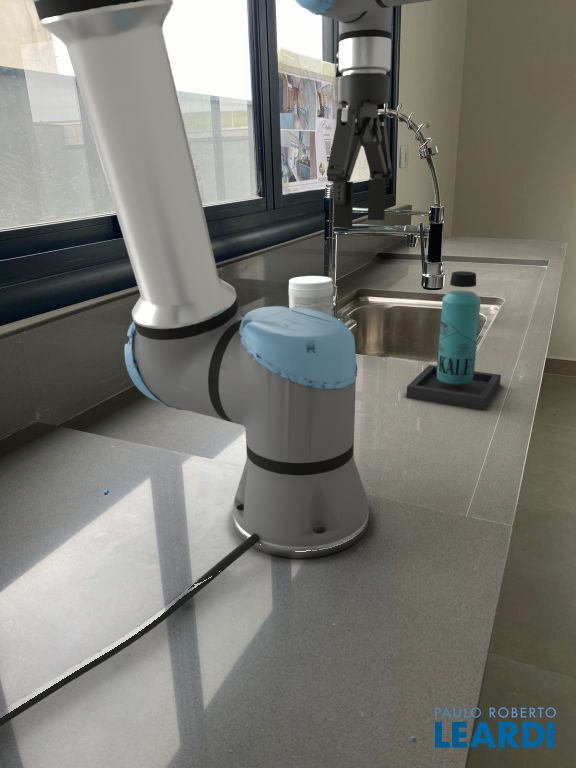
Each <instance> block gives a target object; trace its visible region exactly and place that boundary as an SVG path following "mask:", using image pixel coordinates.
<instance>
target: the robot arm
mask: <svg viewBox="0 0 576 768" xmlns="http://www.w3.org/2000/svg"><path fill="white" fill-rule="evenodd" d="M430 1H432V0H294V2H295V3H296V4H297V5H298V6H299V7H301V8H303V9H306V10H308V12H310V13H311V14H314V15H315V16H322V17H325V18H328V19H331V20H334V21H337V22H338V38H339V39H338V42H339V43H338V52H337V53H336V58H337V59H338V72H339V73H340V74H341V76H339V79H338V89H337V90H338V91H337V97H338V98H337V101H338V104H339V105H342V106H347V107H339V108H337V110H336V125H335V128H334V129H335V130H334V134H333V139H332V144H331V149H330V153H329V158H328V163H327V168H326V178H327V179H326V180H327V181H328V182H333V228H335V229H337V228H339V229H341V228H342V229H352V228H353V221H354V219H353V217H354V214H353V213H354V181H351V178H352V176H353V173H354V169H355V166H356V163H357V160H358V158H359V154H360V151H361V148H362V147H363V151H364V154H365V158H366V161H367V162H366V163H367V165H368V170H369V173H370V176H371V178H368V196H367V197H368V198H367V220H368V221H385V214H386V188H387V187H386V186H387V179H392V177H393V172H392V171H393V170H392V161H391V155H390V147H389V146H390V145H389V138H388V130H387V129H388V128H387V117H388V116H387V113H386V112H379V106H380V105H385V104H387V103H388V102H389V100H390V86H391V85H390V83H391V82H390V81H391V78H390V77H389V75H388V74H387V73H388V72H390V71H391V67H392V17H393V7H398V6H404V5H410V4H417V3H424V2H430ZM32 2H33V5H34V7H35V10H36V13H37V17H38V19H39V23H40V26H41V27H43V28H44V29H45V30H47V31H48V32H49V33H50V34H52V35H53V36H55V37H56V38H57V39H59V40H60V41H61V42H62V43H63V44H64V45H65V47H66V50H67V54H68V56H69V60H70V63H71V66H72V71H73V73H74V76H75V80H76V83H77V86H78V91H79V93H80V96H81V101H82V103H83V107H84V110H85V114H86V117H87V120H88V123H89V126H90V130H91V133H92V137H93V140H94V144H95V147H96V151H97V153H98V157H99V161H100V163H101V167H102V170H103V174H104V177H105V180H106V183H107V187H108V191H109V194H110V197H111V200H112V204H113V207H114V210H115V214H116V217H117V221H118V224H119V227H120V231H121V233H122V238H123V241H124V244H125V247H126V250H127V254H128V257H129V261H130V265H131V267H132V268H131V269H132V271H133V274H134V278H135V281H136V285H137V287H138V291H139V294H140V297H139V298H138V300H137V302H136V303H135V304H134V305H133V308H132V309H131V316H132V317H131V318H132V322H131V324H130V325H129V328H128V330H127V334H126V336H127V338H129V339H128V342H127V343H125V344H124V350H123V351H124V362H125V367H126V370H127V374H128V375H129V377H130V379H131V380H132V383H133V384H134V385H135V387H136V388H137V389H138V391H140V392H141V393H142V394H143V395H144V396H145V397H147V398H149V399H150V400H153V401H155V402H158V403H161V404H162V405H164V406H166V407H167V408H172V409H176V410H179V411H180V410H181V411H188V412H192V413H196V414H199V415H203V416H206V417H207V416H208V417H211V418H215V419H219V420H221V421H225V422H229V423H232V424H236V425H239V426H243V427H244V428H245V429H244V430H245V445H246V447H245V448H246V449H245V450H246V460H245V463H244V467H243V470H242V472H241V476H240V480H239V483H238V486H237V489H236V492H235V494H234V495H235V496H234V498H233V504H232V505H233V507H232V520H233V521H232V522H233V526H234V530H235V532H236V533H237V536H239V538H240V539H241V540H242V541H243V542H241V543H240V544H238V545H237V546H236V547H235V548H234V549H233V550H232V551H230V552H229V553H228V554H227V555H225V556H224V557H223V558H222V559H221V560H219V561H218V562H217V563H216V564H215V565H213V566H212V567H211V568H210V569H209V570H208V571H206V572H205V573H204V574H203V575H202V576H200V577H199V578H198V579H196V581H197V582H196V581H194V582H195V583H194V582H193V583H194V584H197V583H200V582H203V581H204V580H206V579H207V580H206V581H204V582H203V583H201V584H200V585H198V586H197V587H196V588H194V589H193V590H192V591H190V592H189V593H187V594H186V595H184V596H183V597H182V598H181V599H179V600H178V601H177V602H176V603H175V604H174V605H172V606H171V607H170V608H169V609H168V610H167V611H166V612H164V613H163V614H162V615H161V616H160V617H158V618H157V619H156V620H154V621H153V622H152V623H151V624H149V625H148V626H146V627H145V628H144V629H142V630H141V631H139V632H138V633H137V634H135V635H134V636H132V637H131V638H129V639H128V640H126V641H125V642H123V643H121V644H120V645H118V646H117V647H115V648H114V649H112V650H110V651H109V652H107V653H105V654H104V655H102V656H100V657H99V658H97V659H95V660H94V661H92V662H90V663H89V664H87V665H85V666H84V667H82V668H80V669H79V670H77V671H75V672H74V673H72V674H71V675H69V676H67V677H66V678H64V679H62V680H61V681H59V682H58V683H56V684H54V685H53V686H51V687H50V688H48V689H46V690H45V691H43V692H42V693H40V694H38V695H37V696H35V697H34V698H32V699H30V700H29V701H27V702H26V703H24V704H22V705H21V706H19V707H18V708H16V709H14V710H13V711H11V712H10V713H8V714H6V715H5V716H3V717H2V718H0V727H2V726H4V725H5V724H7V723H8V722H9V721H11V720H12V719H15V718H16V717H18V716H19V715H21V714H22V713H24V712H25V711H27V710H28V709H30V708H32V707H33V706H35V705H37V704H38V703H39V702H41V701H43V700H45V699H46V698H47V697H49V696H51V695H52V694H53V693H56V692H57V691H59V690H60V689H62V688H63V687H65V686H67V685H69V683H71V682H73V681H75V680H77V679H78V678H79V677H82V676H83V675H85V674H86V673H87V672H89V671H91V670H92V669H94V668H96V667H98V666H99V665H102V663H104V662H106V661H108V660H109V659H110V658H112V657H114V656H115V655H118V653H120V652H121V651H123V650H125V649H127V647H129V646H131V645H132V644H134V643H135V642H136V641H138V640H139V639H141V638H143V637H144V636H145V635H147V634H148V633H149V632H150V631H152V630H153V629H155V628H156V627H157V626H159V625H160V624H161V623H162V622H164V621H166V620H167V619H168V618H169V617H170V616H171V615H173V614H174V613H175V612H176V611H178V610H179V609H180V608H181V607H182V606H184V605H185V604H186V603H187V602H188V601H189V600H191V599H192V598H193V597H194V596H196V594H198V593H199V592H200V591H201V590H203V589H204V588H205V587H206V586H207V585H209V584H210V583H211V582H212V581H213V580H214V579H216V578H217V577H218V576H220V574H222V573H223V572H224V571H225V570H227V568H229V566H231V565H232V564H233V563H234V562H236V561H237V560H238V559H239V558H240V557H242V556H243V555H244V554H245V553H247V551H249V550H250V549H251V548H254V549H256V550H258V551H261V552H263V553H265V554H269V555H273V556H278V557H284V558H290V559H291V558H293V559H296V558H297V559H309V558H319V557H324V556H328V555H332V554H335V553H338V552H340V551H343V550H346V549H348V548H349V547H351V546H352V545H354V544H355V543H357V542H358V541H359V540H360V539H361V538H362V537H363V536H364V534H365V533H366V531H367V529H368V527H369V526H368V525H369V520H370V519H369V517H370V516H369V515H370V514H369V513H370V508H369V501H368V497H367V494H366V491H365V488H364V485H363V482H362V479H361V476H360V472H359V470H358V467H357V463H356V461H355V458H354V457H355V455H354V454H355V453H354V452H355V451H354V447H355V424H356V423H355V419H356V391H357V390H356V388H357V385H356V384H357V377H358V372H359V371H358V364H357V354H356V353H357V351H356V340H355V336H354V334H353V332H352V331H351V330H350V328H349V327H348V326H347V324H346V323H344V322H343V321H342V320H341V319H339V318H337V317H335V316H334V315H333V316H331V315H328V314H325V313H322V312H319V311H315V310H311V309H306V308H300V307H293V308H289V307H287V306H281V305H273V306H272V305H271V306H263V307H259V308H255V309H251V310H250V311H248V312H247V313H246V314H245V315H243V316H242V314H241V309H240V305H239V299H238V296H237V292H236V289H235V287H234V286H233V285H231V284H230V283H229V282H227V281H225V280H223V279H221V278H220V277H219V273H218V268H217V264H216V259H215V255H214V251H213V246H212V242H211V237H210V233H209V229H208V223H207V219H206V215H205V210H204V205H203V200H202V197H201V193H200V187H199V184H198V178H197V174H196V170H195V166H194V161H193V157H192V156H193V155H192V152H191V151H192V150H191V148H190V142H189V138H188V135H187V134H188V133H187V129H186V125H185V120H184V116H183V112H182V107H181V103H180V97H179V93H178V89H177V85H176V79H175V75H174V71H173V66H172V62H171V58H170V57H171V56H170V53H169V48H168V44H167V40H166V39H167V38H166V35H165V31H164V30H165V29H164V28H165V25H166V21H167V19H168V18H169V16H170V14H171V12H172V10H173V8H174V6H175V4H176V0H32ZM234 522H235V523H234ZM366 523H367V524H366ZM235 524H236V525H235ZM365 525H366V526H365ZM236 526H237V527H236ZM364 526H365V527H364ZM363 528H364V529H363ZM362 529H363V530H362ZM239 530H240V531H241V532H242V533H243V534H244V535H243V534H242V533H241V532H240V531H239ZM361 530H362V531H361ZM360 531H361V532H360ZM359 532H360V533H359ZM358 533H359V534H358ZM357 534H358V535H357ZM355 535H357V536H355ZM353 536H355V537H354V538H353V539H351V540H349V541H347V542H345V543H343V541H346V540H348V539H350V538H352V537H353ZM247 537H248V538H247ZM340 543H343V544H341V545H338V546H335V547H332V546H334V545H337V544H340ZM260 544H261V545H260ZM330 546H331V547H332V548H328V547H330ZM323 548H328V549H323ZM319 549H323V550H319ZM306 550H311V551H306ZM312 550H317V551H312ZM295 551H306V552H295ZM219 571H220V572H219ZM211 576H212V577H211ZM209 577H211V578H209ZM208 578H209V579H208ZM193 583H192V584H193ZM192 584H191V585H192ZM194 584H193V585H192V586H191V585H190V586H191V587H190V588H192V587H194V586H195V585H194ZM190 588H189V589H190ZM189 589H188V590H189ZM180 594H181V593H179V594H178V595H177V596H179V595H180ZM174 599H175V598H173V599H172V600H174Z"/></svg>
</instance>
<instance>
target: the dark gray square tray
mask: <svg viewBox="0 0 576 768" xmlns="http://www.w3.org/2000/svg"><path fill="white" fill-rule="evenodd" d="M436 371H437V369H436V365H434V364H428V365H427V366H426V367H425V368H424V369H423V370H422V371H421V372H420V373H419V374H418V375H417V376H416V377H415V378H413V380H412V381H411V382H410V383H409V384H408V385H407V386H406V395H405V396H406V398H410V399H416V400H421V401H427V402H433V403H440V404H445V405H450V406H457V407H463V408H469V409H474V410H475V409H476V410H481V411H485V410H486V408H487V406H488V405H489V403H490V401H491V400H492V398H493V397H494V396H495V394H496V392H497V390H498V389H499V387H500V386H501V379H502V378H501V377H502V374H498V373H490V372H483V371H477V370H474V373H475V374H474V376H473V377H474V378H473V380H472V381H471V382H470V383H467V384H449V383H445V382H442V381H440V380H438V378H437V375H436V374H437V372H436Z"/></svg>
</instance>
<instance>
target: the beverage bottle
mask: <svg viewBox="0 0 576 768" xmlns="http://www.w3.org/2000/svg"><path fill="white" fill-rule="evenodd" d="M449 285H450V286H452V287H455V288H456V287H457V288H472V287H476V286H477V273H476V272H473V271H466V270H460V271H459V270H458V271H453V272H451V276H450V281H449ZM441 301H442V302H441V303H442V304H441V305H442V306H441V313H440V316H439V317H440V320H439V323H440V324H439V338H438V343H437V345H438V347H437V349H438V350H437V354H436V357H437V358H436V365H435V366H436V369H437V371H436V372H437V374H436V375H437V378H438V380H440V381H442V382H445V383H449V384H467V383H470V382H471V381H472V380H473V378H474V377H473V376H474V374H475V373H474V371H475V369H476V366H477V365H476V359H477V357H476V356H477V352H478V351H477V350H478V349H477V346H478V343H477V340H478V330H479V321H480V313H481V304H482V299H481V298H480V297H479V296H478V294H477V293H476V292H474V291H470V290H452V291H449V292H447V293H446V294H444V296H443V297H442V298H441Z"/></svg>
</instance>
